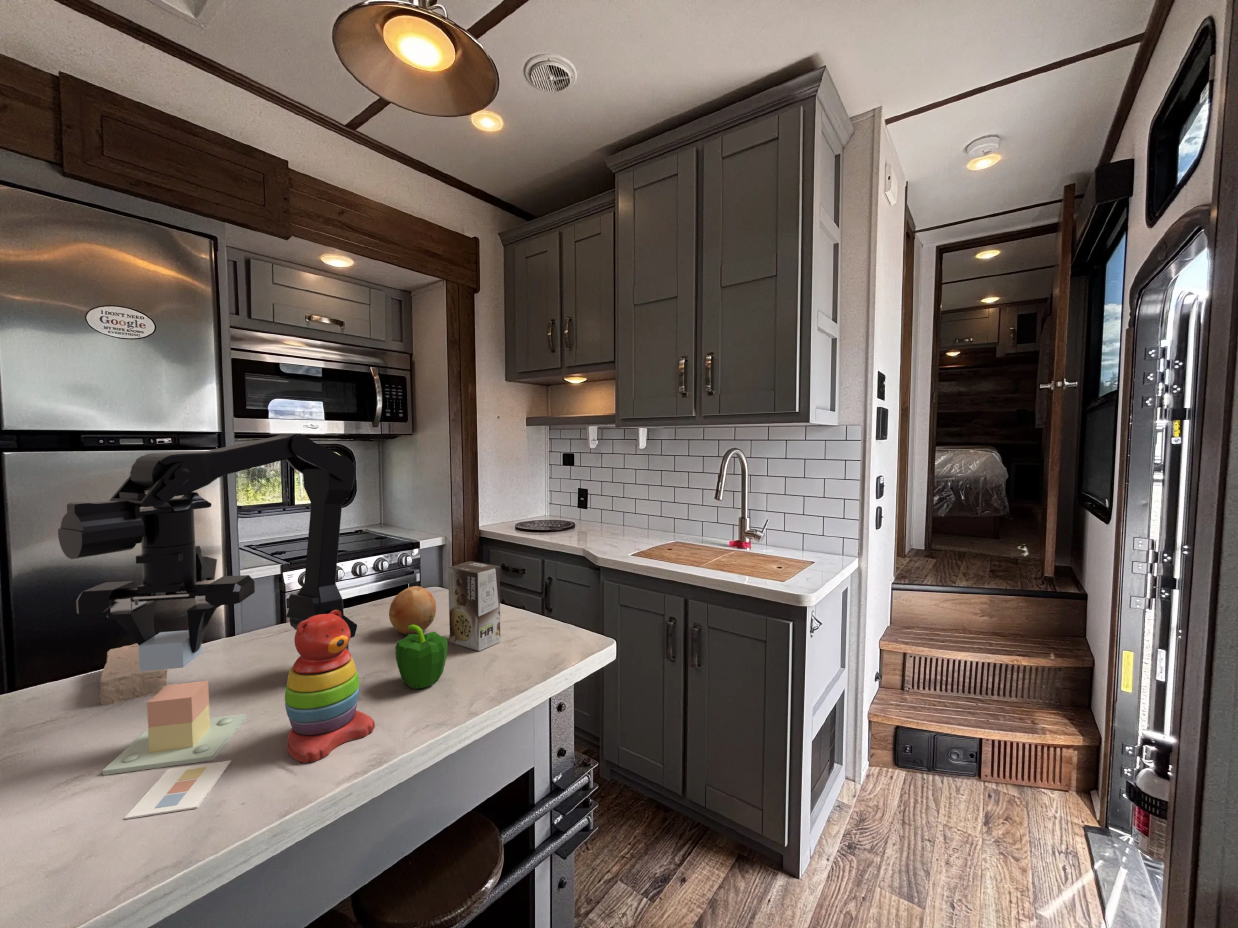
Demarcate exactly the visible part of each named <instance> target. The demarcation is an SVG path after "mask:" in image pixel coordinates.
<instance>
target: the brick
mask: <svg viewBox="0 0 1238 928" xmlns="http://www.w3.org/2000/svg"><path fill="white" fill-rule="evenodd" d="M167 678H168V669H162V670H150V671H140V664H139V645H138V644H137V643H133V644H131V645H123V646H121V647H116V648H111V649H109V650H108V651H107V652H106V663H105V664H104V668H103V670H102V672H101V676H100V677H99V685H100V694H99V696H100V703H101V705H103V706H108V705H112V704H119V703H121V702H126V701H129V700H134V699H138V698H143V697H149V696H155V695H156V694H157V693H158V692H159V691H161V690H162V689H163V688H164V687H165V686H166V685H168V683H167Z"/></svg>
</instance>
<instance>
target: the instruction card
mask: <svg viewBox="0 0 1238 928" xmlns="http://www.w3.org/2000/svg"><path fill="white" fill-rule="evenodd" d="M231 763H232V760H225V761H218V762H217V761H216V762H209V763H204V764H203V763H200V764H195V765H188V766H180V767H173V768H168V769H167V770H166V771H165V772H164V773H163V774H162V776H160V778H159V779H158V780H157V781H156V782H155V783H154V785H152V786H151V788H150V789H149V790H148V791H147V793H145V795H143V797H142V798H140V800H139V801H138V802H137V804H135V806H134V807H133V808H132V809H131V810H130V811H129V812H128V813H127V814H126V815H125V817H124V820H131V819H137V818H142V817H150V816H155V815H162V814H163V815H164V814H168V813H174V812H175V813H176V812H182V811H187V810H194V809H199V806H200V805H201V804H202V803H203V801H204V800H205V799H206V798H207V796H208V795H209V793H210V791H211V790H212V789H213V787H214V786H215V784H216V783H217V782H218V781H219V779H220V778H221V777H222V775H223V773H224V772H226V769H227V768H228V767H229V765H230V764H231Z"/></svg>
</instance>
